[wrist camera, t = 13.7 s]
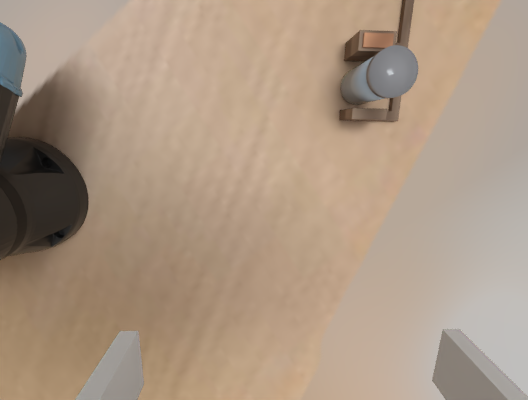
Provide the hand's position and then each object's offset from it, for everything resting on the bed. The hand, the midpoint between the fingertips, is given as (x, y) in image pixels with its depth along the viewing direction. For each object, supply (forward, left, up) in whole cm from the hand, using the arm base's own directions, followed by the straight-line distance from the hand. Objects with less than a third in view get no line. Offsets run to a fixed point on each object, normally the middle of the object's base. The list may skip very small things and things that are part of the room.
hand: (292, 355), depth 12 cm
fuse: (+12, +15, -29) cm, 34 cm away
